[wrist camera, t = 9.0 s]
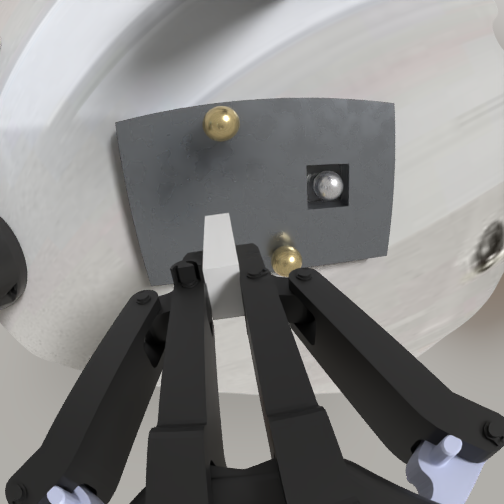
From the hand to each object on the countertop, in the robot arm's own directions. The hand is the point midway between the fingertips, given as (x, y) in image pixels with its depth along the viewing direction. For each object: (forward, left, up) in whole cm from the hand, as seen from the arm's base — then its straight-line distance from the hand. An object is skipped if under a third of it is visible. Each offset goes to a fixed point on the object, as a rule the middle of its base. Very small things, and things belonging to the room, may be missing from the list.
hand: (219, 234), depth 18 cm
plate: (+5, 0, -13) cm, 13 cm away
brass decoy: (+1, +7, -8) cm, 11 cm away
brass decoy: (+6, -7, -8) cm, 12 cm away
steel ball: (+11, 0, -11) cm, 16 cm away
